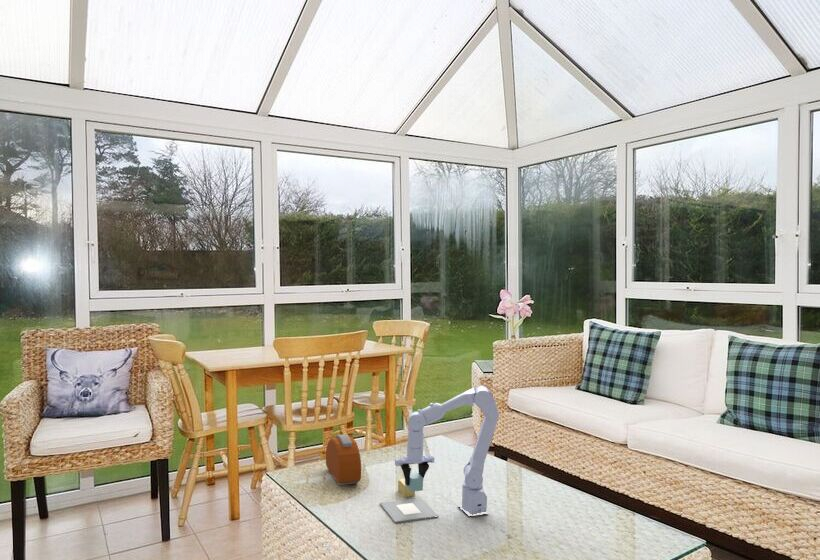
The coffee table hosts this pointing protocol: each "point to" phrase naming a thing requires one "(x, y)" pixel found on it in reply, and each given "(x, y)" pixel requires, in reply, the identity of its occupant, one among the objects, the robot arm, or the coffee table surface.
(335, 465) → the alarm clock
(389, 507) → the baseplate
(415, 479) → the teal brick
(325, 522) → the coffee table surface
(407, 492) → the ochre brick
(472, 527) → the coffee table surface
